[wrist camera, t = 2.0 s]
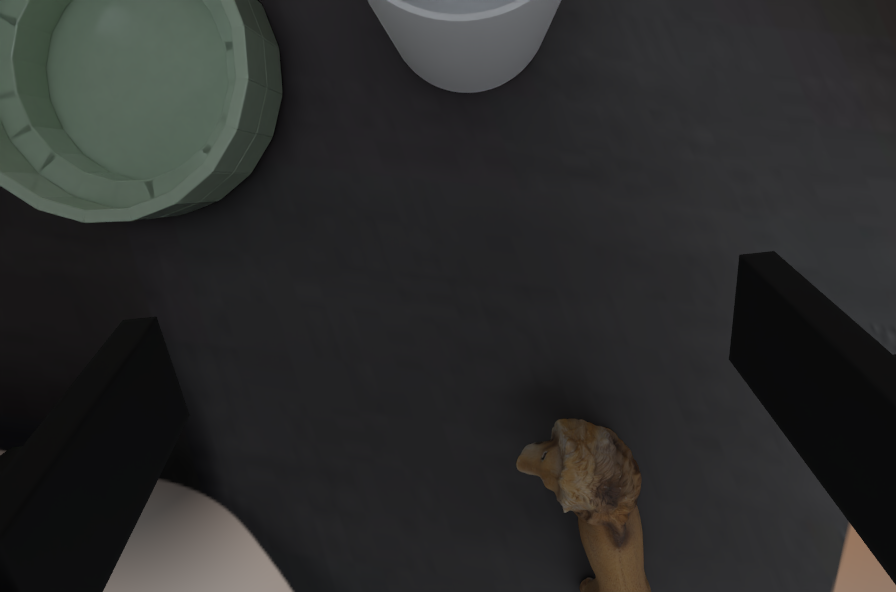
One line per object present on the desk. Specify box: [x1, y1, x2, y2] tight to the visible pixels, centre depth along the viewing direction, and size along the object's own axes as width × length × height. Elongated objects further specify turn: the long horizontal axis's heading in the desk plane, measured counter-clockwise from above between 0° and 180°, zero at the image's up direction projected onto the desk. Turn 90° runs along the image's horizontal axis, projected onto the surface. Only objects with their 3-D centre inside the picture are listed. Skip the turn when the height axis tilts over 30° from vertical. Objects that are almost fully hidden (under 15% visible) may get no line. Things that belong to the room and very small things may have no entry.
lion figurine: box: [516, 419, 651, 592], centre depth 35 cm, size 15×5×9 cm, turn 22°
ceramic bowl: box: [0, 0, 283, 223], centre depth 33 cm, size 14×14×6 cm
